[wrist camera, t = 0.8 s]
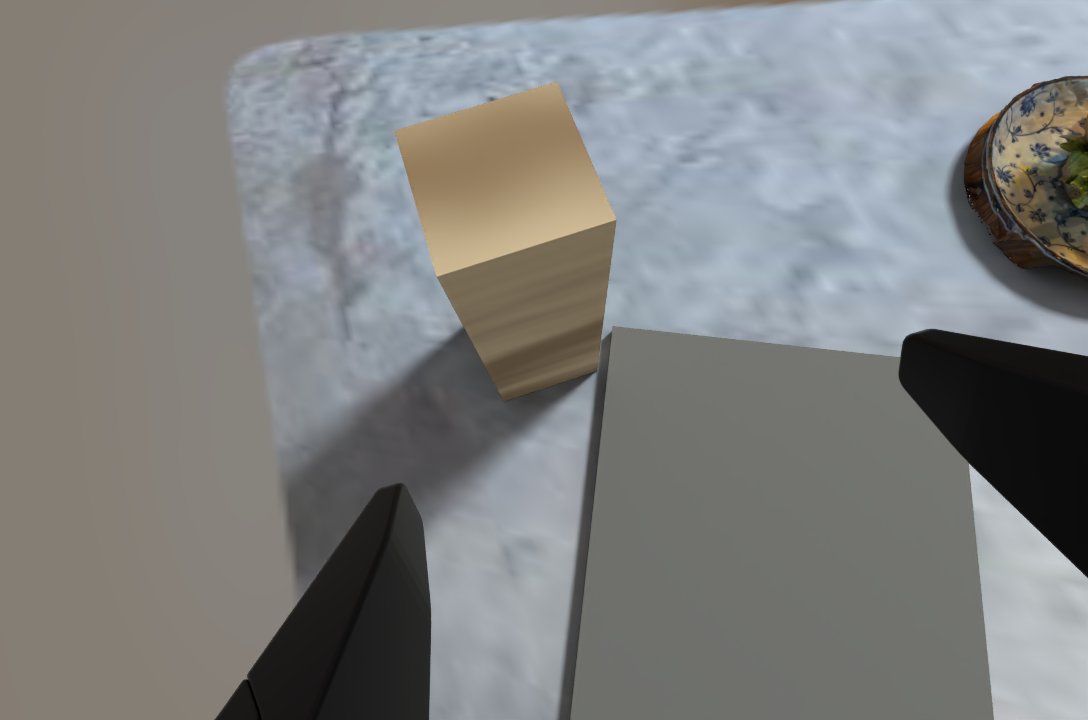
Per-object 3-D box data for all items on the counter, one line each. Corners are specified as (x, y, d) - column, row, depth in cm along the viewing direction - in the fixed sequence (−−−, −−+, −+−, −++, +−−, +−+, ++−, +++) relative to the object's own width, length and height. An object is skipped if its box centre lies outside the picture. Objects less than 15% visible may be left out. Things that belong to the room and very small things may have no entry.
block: (596, 371, 25) (616, 220, 13) (503, 401, 25) (436, 276, 13) (565, 287, 26) (557, 81, 14) (477, 315, 26) (394, 130, 14)
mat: (995, 863, 18) (1008, 874, 18) (563, 781, 20) (562, 788, 19) (949, 367, 24) (958, 363, 23) (612, 330, 25) (612, 326, 25)
